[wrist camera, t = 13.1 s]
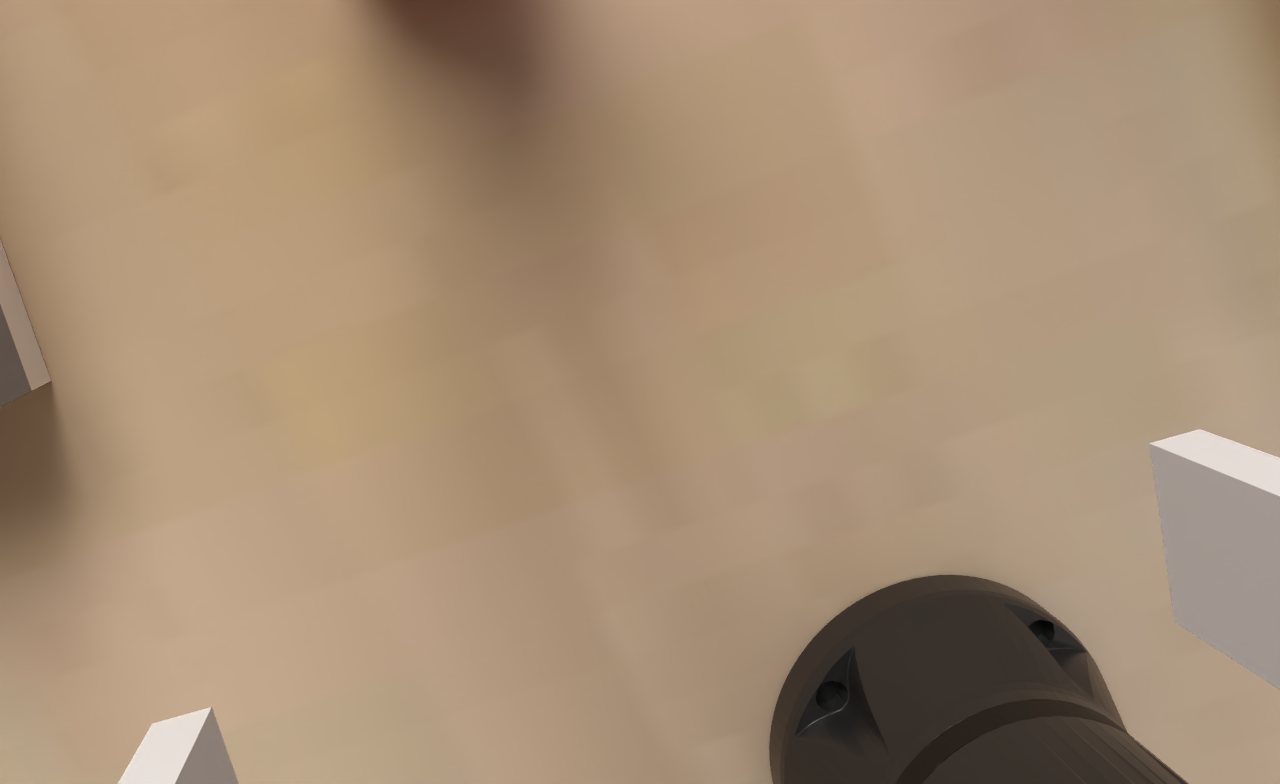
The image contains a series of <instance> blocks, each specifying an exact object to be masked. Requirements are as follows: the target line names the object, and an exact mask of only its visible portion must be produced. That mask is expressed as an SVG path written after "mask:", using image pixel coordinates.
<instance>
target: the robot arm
mask: <svg viewBox="0 0 1280 784" xmlns="http://www.w3.org/2000/svg"><path fill="white" fill-rule="evenodd" d="M1149 444H1150V451H1151V458H1152V465H1153V472H1154V479H1155V486H1156V493H1157V500H1158V507H1159V514H1160V521H1161V528H1162V535H1163V542H1164V549H1165V557H1166V564H1167V571H1168V578H1169V585H1170V592H1171V599H1172V606H1173V613H1174V620H1175V623H1177V624H1179V625H1180V626H1182V627H1183V628H1185V629H1186V630H1188V631H1189V632H1191V633H1192V634H1194V635H1196V636H1197V637H1199V638H1200V639H1202V640H1203V641H1205V642H1206V643H1208V644H1210V645H1211V646H1213V647H1214V648H1216V649H1217V650H1219V651H1220V652H1222V653H1223V654H1225V655H1227V656H1228V657H1230V658H1231V659H1233V660H1234V661H1236V662H1237V663H1239V664H1241V665H1242V666H1244V667H1245V668H1247V669H1248V670H1250V671H1251V672H1253V673H1254V674H1256V675H1258V676H1259V677H1261V678H1262V679H1264V680H1265V681H1267V682H1268V683H1270V684H1272V685H1273V686H1275V687H1276V688H1278V689H1279V690H1280V458H1279V457H1276V456H1273V455H1270V454H1267V453H1265V452H1262V451H1259V450H1256V449H1254V448H1251V447H1248V446H1245V445H1242V444H1240V443H1237V442H1234V441H1231V440H1228V439H1226V438H1223V437H1220V436H1217V435H1215V434H1212V433H1209V432H1206V431H1203V430H1201V429H1199V430H1195V431H1192V432H1188V433H1184V434H1181V435H1177V436H1174V437H1170V438H1167V439H1163V440H1160V441H1156V442H1152V443H1149ZM769 749H770V766H771V773H772V779H773V783H774V784H1188V783H1187V782H1186V781H1185V780H1184V779H1182V778H1181V777H1180V776H1179V775H1178V774H1176V773H1175V772H1174V771H1173V770H1172V769H1170V768H1169V767H1168V766H1167V765H1166V764H1164V763H1163V762H1162V761H1161V760H1160V759H1158V758H1157V757H1156V756H1155V755H1154V754H1152V753H1151V752H1150V751H1149V750H1147V749H1146V748H1145V747H1144V746H1143V745H1141V744H1140V743H1139V742H1138V741H1136V740H1135V739H1134V738H1133V737H1132V736H1130V735H1129V734H1128V733H1127V731H1126V728H1125V726H1124V724H1123V722H1122V719H1121V717H1120V715H1119V713H1118V710H1117V708H1116V706H1115V704H1114V701H1113V699H1112V697H1111V695H1110V692H1109V690H1108V688H1107V686H1106V683H1105V681H1104V679H1103V677H1102V675H1101V673H1100V670H1099V668H1098V666H1097V665H1096V663H1095V661H1094V660H1093V658H1092V656H1091V655H1090V654H1089V652H1088V651H1087V649H1086V648H1085V647H1084V645H1083V644H1082V643H1081V642H1080V641H1079V639H1078V638H1077V637H1076V636H1075V635H1074V634H1073V633H1072V632H1071V631H1070V630H1069V629H1068V628H1067V627H1066V626H1065V625H1064V624H1063V623H1061V622H1060V621H1059V620H1058V619H1057V618H1055V617H1054V616H1053V615H1051V614H1050V613H1049V612H1048V611H1046V610H1045V609H1044V608H1042V607H1041V606H1040V605H1039V604H1037V603H1036V602H1034V601H1033V600H1032V599H1030V598H1029V597H1027V596H1025V595H1024V594H1022V593H1020V592H1018V591H1016V590H1014V589H1012V588H1010V587H1008V586H1005V585H1002V584H1000V583H997V582H993V581H990V580H986V579H982V578H977V577H970V576H960V575H938V576H928V577H922V578H916V579H911V580H907V581H903V582H900V583H897V584H894V585H891V586H888V587H886V588H883V589H881V590H878V591H876V592H874V593H872V594H870V595H868V596H866V597H864V598H863V599H861V600H859V601H857V602H856V603H854V604H853V605H851V606H850V607H848V608H847V609H845V610H844V611H843V612H841V613H840V614H839V615H837V616H836V617H835V618H834V619H833V620H831V621H830V622H829V623H828V624H827V625H826V626H825V627H824V628H823V629H822V630H821V631H820V632H819V633H818V634H817V635H816V636H815V637H814V638H813V639H812V641H811V642H810V643H809V644H808V645H807V647H806V648H805V649H804V651H803V652H802V653H801V655H800V656H799V658H798V659H797V661H796V662H795V664H794V666H793V667H792V669H791V671H790V673H789V675H788V676H787V679H786V681H785V683H784V685H783V687H782V690H781V692H780V695H779V698H778V701H777V704H776V707H775V711H774V715H773V720H772V725H771V733H770V747H769ZM118 784H239V783H238V781H237V778H236V775H235V772H234V769H233V766H232V763H231V761H230V758H229V755H228V752H227V749H226V746H225V744H224V741H223V738H222V735H221V732H220V729H219V726H218V724H217V721H216V718H215V715H214V712H213V709H212V707H210V708H206V709H203V710H199V711H196V712H192V713H188V714H185V715H181V716H178V717H174V718H171V719H167V720H164V721H160V722H156V723H153V724H152V725H151V727H150V729H149V730H148V732H147V734H146V736H145V737H144V739H143V741H142V742H141V744H140V746H139V748H138V749H137V751H136V753H135V755H134V756H133V758H132V760H131V762H130V763H129V765H128V767H127V769H126V770H125V772H124V774H123V776H122V777H121V779H120V781H119V783H118Z"/></svg>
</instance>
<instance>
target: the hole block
mask: <svg viewBox="0 0 1280 784" xmlns="http://www.w3.org/2000/svg"><path fill="white" fill-rule="evenodd" d="M50 381H51V379H50V376H49V373H48V371H47V368H46V365H45V362H44V359H43V357H42V354H41V351H40V348H39V345H38V343H37V340H36V337H35V334H34V332H33V329H32V326H31V323H30V320H29V318H28V315H27V312H26V309H25V306H24V304H23V301H22V298H21V295H20V293H19V290H18V287H17V284H16V281H15V279H14V276H13V273H12V270H11V267H10V265H9V262H8V259H7V256H6V253H5V251H4V248H3V245H2V242H1V240H0V407H1V406H3V405H5V404H7V403H9V402H11V401H13V400H15V399H17V398H19V397H21V396H23V395H25V394H27V393H28V392H30V391H32V390H34V389H36V388H38V387H40V386H42V385H44V384H46V383H48V382H50Z"/></svg>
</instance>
